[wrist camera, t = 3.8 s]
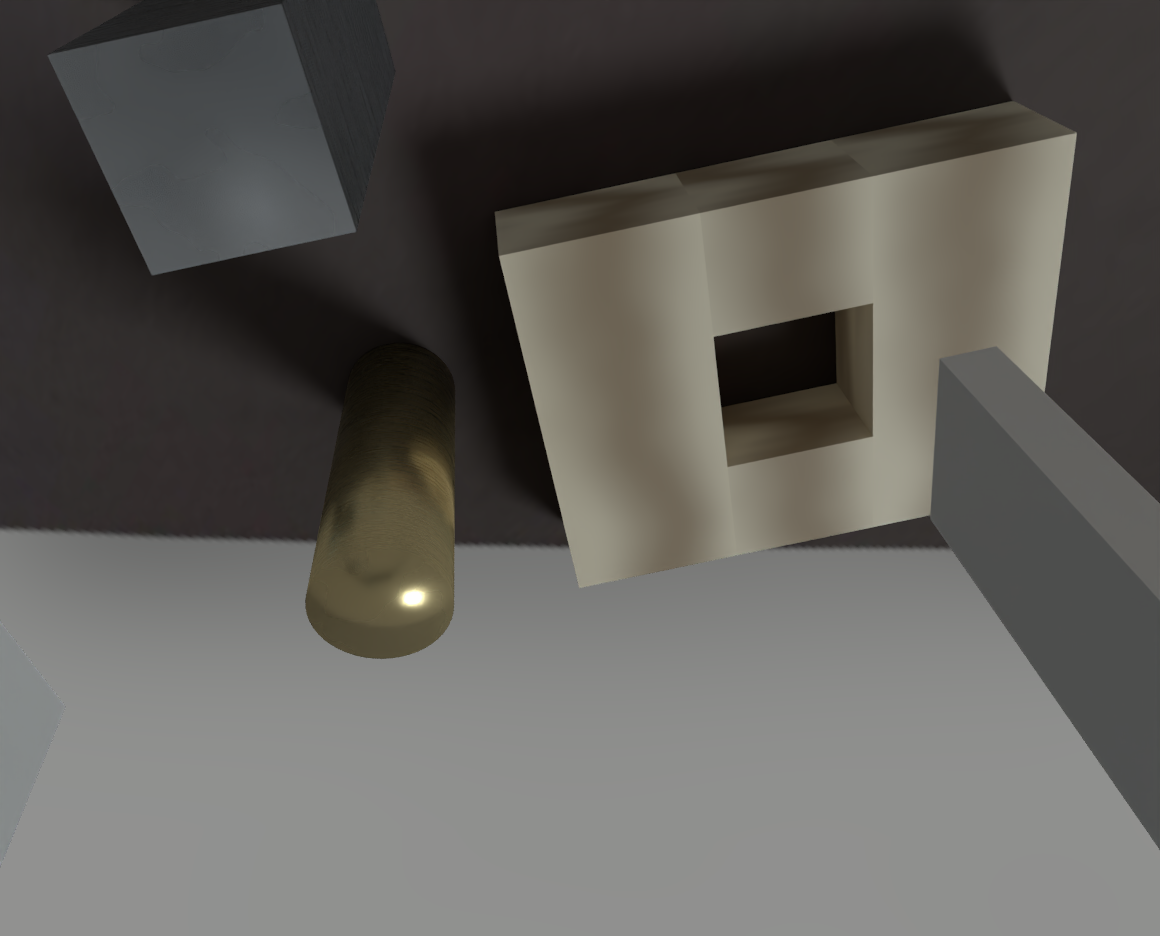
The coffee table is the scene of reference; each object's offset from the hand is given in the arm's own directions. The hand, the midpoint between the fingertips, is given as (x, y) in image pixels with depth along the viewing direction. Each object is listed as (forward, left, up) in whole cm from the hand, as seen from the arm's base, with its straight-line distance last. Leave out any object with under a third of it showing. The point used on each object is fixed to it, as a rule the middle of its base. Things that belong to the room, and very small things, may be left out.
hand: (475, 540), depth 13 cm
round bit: (-5, -9, -22) cm, 24 cm away
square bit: (-4, +4, -22) cm, 22 cm away
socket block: (+9, -10, -22) cm, 25 cm away
